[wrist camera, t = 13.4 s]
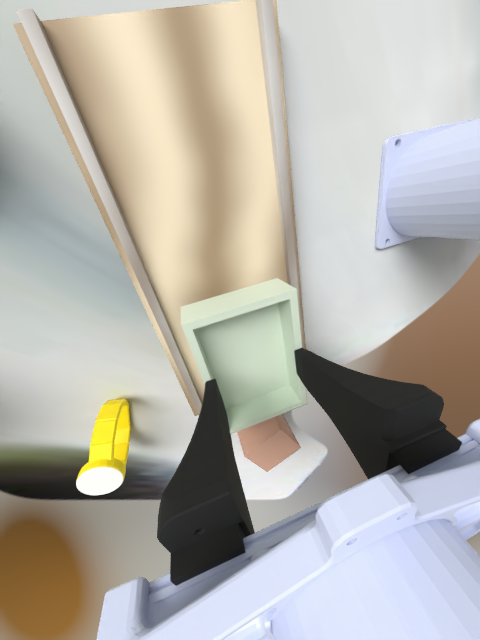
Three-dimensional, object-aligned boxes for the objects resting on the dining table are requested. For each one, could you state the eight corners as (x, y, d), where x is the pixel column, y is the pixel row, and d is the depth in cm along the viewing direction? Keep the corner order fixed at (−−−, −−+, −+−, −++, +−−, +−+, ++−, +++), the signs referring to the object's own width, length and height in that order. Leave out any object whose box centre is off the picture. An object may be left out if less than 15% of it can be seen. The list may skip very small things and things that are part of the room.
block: (261, 389, 23) (281, 429, 18) (278, 407, 25) (300, 447, 20) (231, 411, 23) (244, 456, 19) (251, 427, 25) (267, 472, 20)
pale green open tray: (269, 273, 16) (296, 288, 13) (284, 371, 21) (307, 403, 17) (180, 300, 15) (180, 324, 12) (216, 396, 20) (224, 436, 16)
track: (268, 14, 11) (295, -48, 9) (302, 368, 23) (319, 386, 20) (27, 41, 10) (-28, -25, 7) (194, 407, 21) (196, 434, 19)
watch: (140, 434, 21) (127, 504, 16) (108, 438, 20) (83, 514, 15) (135, 385, 19) (119, 449, 13) (99, 388, 18) (67, 457, 13)
